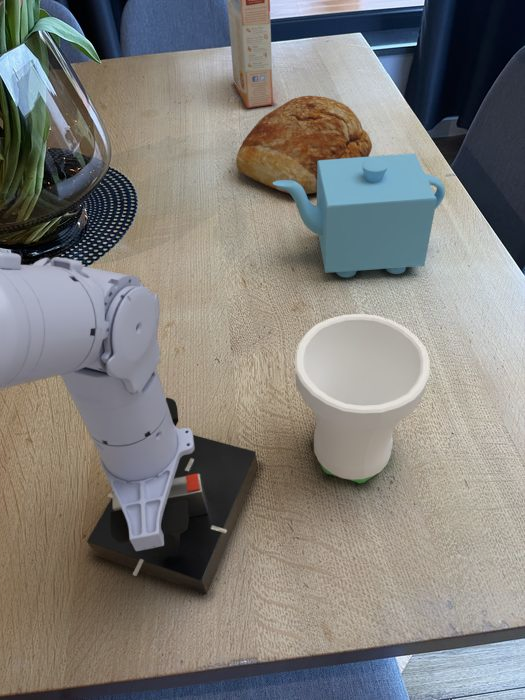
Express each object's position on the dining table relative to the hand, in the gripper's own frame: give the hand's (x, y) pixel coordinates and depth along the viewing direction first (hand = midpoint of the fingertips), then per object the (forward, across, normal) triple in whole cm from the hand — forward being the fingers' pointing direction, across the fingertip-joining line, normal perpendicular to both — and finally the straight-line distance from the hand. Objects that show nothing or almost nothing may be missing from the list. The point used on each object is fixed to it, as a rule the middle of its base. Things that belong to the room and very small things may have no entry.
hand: (163, 505), depth 49 cm
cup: (+5, +4, -19) cm, 20 cm away
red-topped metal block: (+1, 0, 0) cm, 1 cm away
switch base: (+4, +2, -1) cm, 5 cm away
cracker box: (+5, +94, -24) cm, 98 cm away
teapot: (+5, +35, -28) cm, 46 cm away
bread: (+5, +61, -26) cm, 67 cm away
